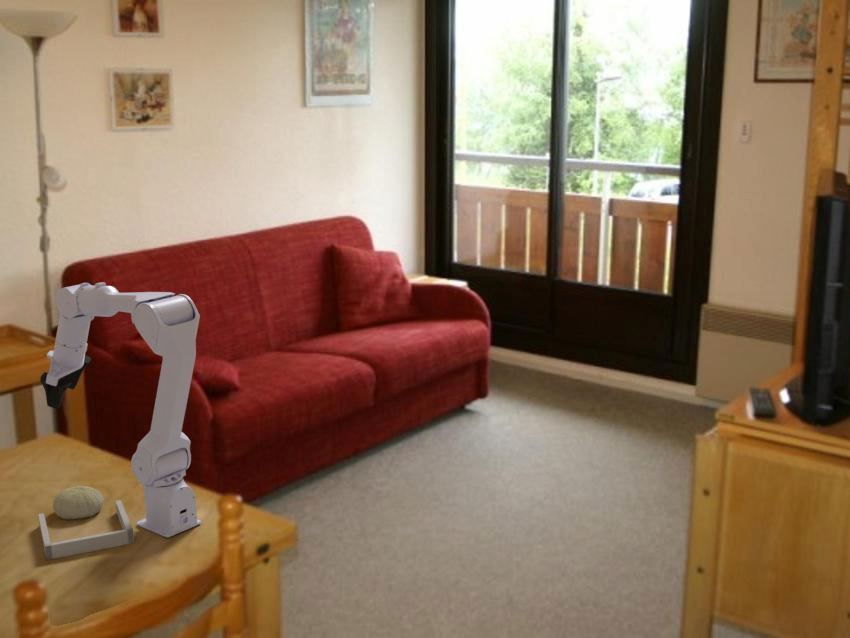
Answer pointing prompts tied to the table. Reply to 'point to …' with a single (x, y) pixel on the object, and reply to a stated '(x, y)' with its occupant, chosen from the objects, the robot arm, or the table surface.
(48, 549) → the grey u-shaped bracket
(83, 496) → the sea urchin shell
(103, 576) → the table surface
